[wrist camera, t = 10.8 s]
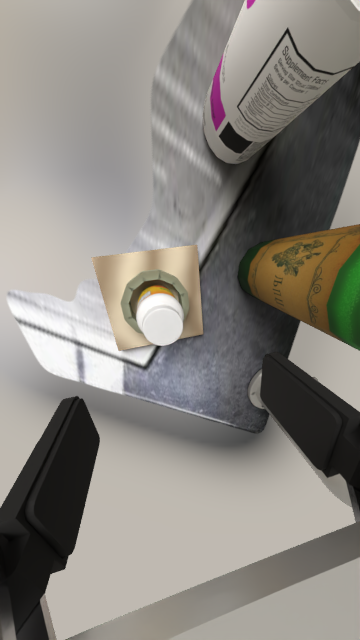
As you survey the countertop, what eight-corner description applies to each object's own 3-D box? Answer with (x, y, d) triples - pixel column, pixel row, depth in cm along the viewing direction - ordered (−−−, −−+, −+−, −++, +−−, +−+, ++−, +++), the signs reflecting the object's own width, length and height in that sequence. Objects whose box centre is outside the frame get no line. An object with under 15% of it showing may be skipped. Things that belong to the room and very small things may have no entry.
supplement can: (187, 112, 20) (285, -201, 6) (243, 55, 19) (500, -450, 5) (224, 181, 23) (343, 78, 9) (273, 135, 22) (482, -52, 9)
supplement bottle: (181, 299, 26) (201, 323, 17) (158, 325, 27) (166, 361, 18) (154, 275, 24) (160, 289, 15) (130, 304, 25) (123, 332, 16)
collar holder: (194, 245, 25) (202, 243, 22) (200, 330, 31) (208, 341, 27) (94, 257, 23) (85, 258, 20) (119, 346, 29) (116, 359, 25)
